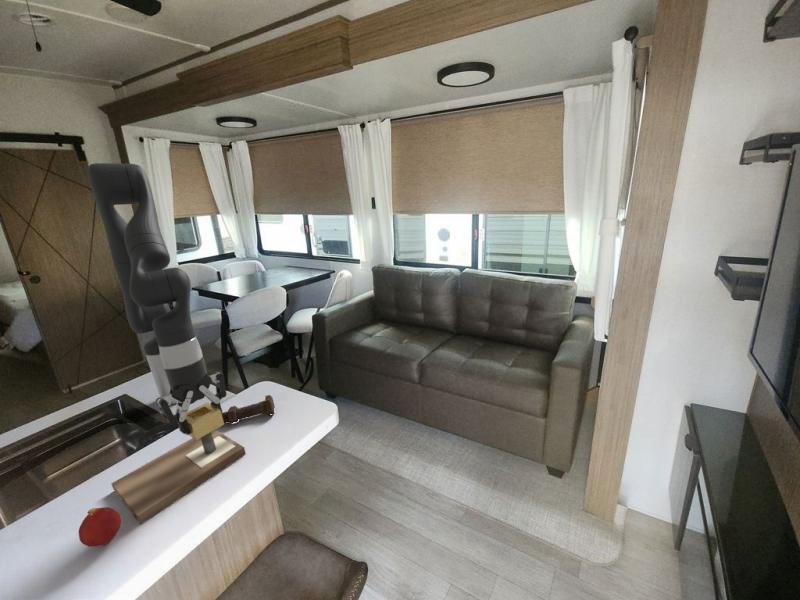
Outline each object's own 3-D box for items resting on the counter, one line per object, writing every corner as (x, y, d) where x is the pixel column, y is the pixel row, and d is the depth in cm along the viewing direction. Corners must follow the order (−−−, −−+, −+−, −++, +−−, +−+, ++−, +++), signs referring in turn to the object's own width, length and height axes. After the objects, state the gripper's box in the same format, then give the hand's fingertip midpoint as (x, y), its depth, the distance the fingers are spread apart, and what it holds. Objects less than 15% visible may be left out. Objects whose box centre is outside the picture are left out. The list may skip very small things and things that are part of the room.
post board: (114, 490, 77) (101, 460, 75) (213, 433, 94) (205, 407, 92) (140, 524, 68) (127, 490, 65) (245, 454, 84) (238, 425, 82)
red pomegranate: (106, 529, 67) (91, 495, 65) (134, 527, 67) (120, 493, 65) (78, 558, 62) (61, 523, 60) (109, 557, 61) (93, 521, 59)
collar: (183, 431, 81) (178, 416, 80) (211, 416, 86) (207, 402, 85) (196, 440, 77) (191, 424, 76) (224, 424, 82) (220, 409, 81)
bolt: (221, 430, 99) (276, 414, 102) (215, 431, 94) (273, 415, 97) (217, 409, 100) (272, 394, 103) (212, 409, 95) (269, 394, 99)
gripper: (207, 344, 85) (224, 405, 89) (139, 370, 74) (162, 437, 78) (223, 349, 80) (240, 413, 85) (153, 377, 69) (176, 448, 74)
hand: (203, 424), depth 82 cm, fingers closed on collar, 6 cm apart
